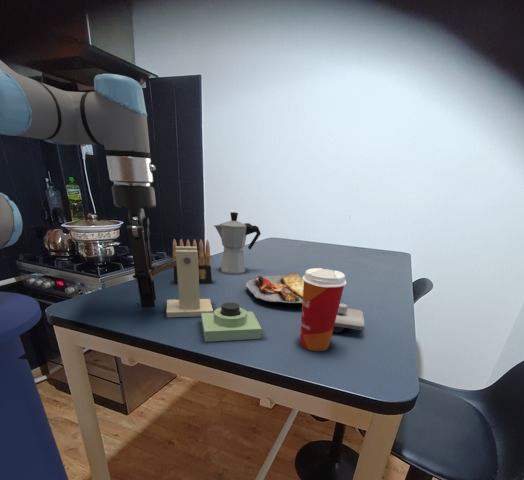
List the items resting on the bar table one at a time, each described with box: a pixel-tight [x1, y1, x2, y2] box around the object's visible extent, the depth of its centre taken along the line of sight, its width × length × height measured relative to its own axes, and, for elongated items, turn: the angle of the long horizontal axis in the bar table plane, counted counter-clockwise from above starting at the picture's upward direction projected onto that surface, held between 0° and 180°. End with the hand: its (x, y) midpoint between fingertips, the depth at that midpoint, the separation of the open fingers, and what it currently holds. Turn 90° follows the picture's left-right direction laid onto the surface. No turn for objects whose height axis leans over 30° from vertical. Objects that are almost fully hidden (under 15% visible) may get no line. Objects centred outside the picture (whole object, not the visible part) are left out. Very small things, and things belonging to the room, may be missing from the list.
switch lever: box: [134, 249, 191, 283], centre depth 67 cm, size 13×4×4 cm, turn 103°
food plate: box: [244, 272, 304, 305], centre depth 86 cm, size 25×23×4 cm
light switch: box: [333, 302, 366, 333], centre depth 69 cm, size 10×10×5 cm
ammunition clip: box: [172, 238, 213, 285], centre depth 89 cm, size 11×2×12 cm, turn 104°
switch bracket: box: [166, 245, 214, 318], centre depth 70 cm, size 10×8×14 cm
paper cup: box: [299, 267, 347, 352], centre depth 58 cm, size 8×8×14 cm
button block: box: [200, 307, 263, 343], centre depth 64 cm, size 11×9×4 cm
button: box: [220, 302, 241, 317], centre depth 63 cm, size 4×4×2 cm
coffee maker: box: [213, 211, 262, 275], centre depth 102 cm, size 15×9×18 cm, turn 95°
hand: (148, 302), depth 70 cm, fingers closed on switch lever, 4 cm apart
